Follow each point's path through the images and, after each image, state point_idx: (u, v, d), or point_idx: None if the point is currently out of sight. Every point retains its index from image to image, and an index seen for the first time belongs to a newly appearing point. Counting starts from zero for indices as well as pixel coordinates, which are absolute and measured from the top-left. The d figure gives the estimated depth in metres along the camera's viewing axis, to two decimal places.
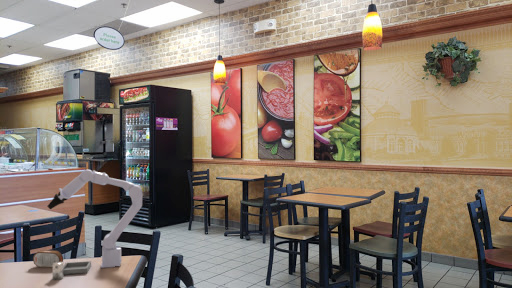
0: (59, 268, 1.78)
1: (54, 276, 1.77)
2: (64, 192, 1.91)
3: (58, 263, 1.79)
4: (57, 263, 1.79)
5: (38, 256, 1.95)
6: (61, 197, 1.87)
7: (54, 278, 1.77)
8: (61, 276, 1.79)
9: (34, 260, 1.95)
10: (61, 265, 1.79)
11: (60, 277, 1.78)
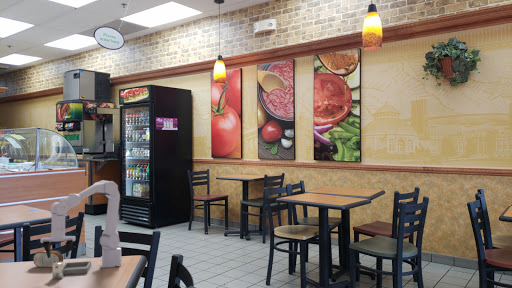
0: (59, 268, 1.78)
1: (54, 276, 1.77)
2: (64, 236, 1.80)
3: (58, 263, 1.79)
4: (57, 263, 1.79)
5: (38, 256, 1.95)
6: (75, 238, 1.82)
7: (54, 278, 1.77)
8: (61, 276, 1.79)
9: (34, 260, 1.95)
10: (61, 265, 1.79)
11: (60, 277, 1.78)
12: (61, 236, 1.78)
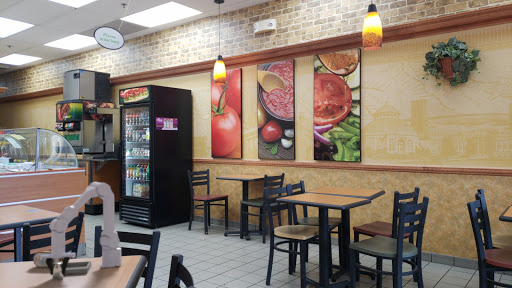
0: (59, 268, 1.78)
1: (54, 276, 1.77)
2: (64, 253, 1.80)
3: (58, 263, 1.79)
4: (57, 263, 1.79)
5: (38, 256, 1.95)
6: None
7: (54, 278, 1.77)
8: (61, 276, 1.79)
9: (34, 260, 1.95)
10: (61, 265, 1.79)
11: (60, 277, 1.78)
12: (61, 253, 1.78)
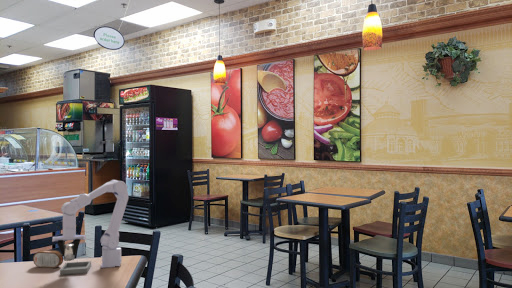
0: (70, 249, 1.84)
1: (65, 257, 1.84)
2: (75, 235, 1.86)
3: (69, 245, 1.86)
4: (68, 245, 1.86)
5: (38, 256, 1.95)
6: (85, 237, 1.88)
7: (65, 259, 1.84)
8: (72, 257, 1.85)
9: (34, 260, 1.95)
10: (72, 247, 1.85)
11: (71, 258, 1.85)
12: (72, 235, 1.85)
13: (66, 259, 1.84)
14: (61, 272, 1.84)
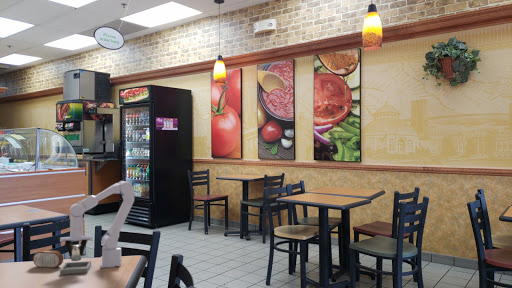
0: (77, 250, 1.89)
1: (73, 257, 1.89)
2: (82, 235, 1.91)
3: (76, 245, 1.90)
4: (75, 245, 1.91)
5: (38, 256, 1.95)
6: None
7: (72, 259, 1.89)
8: (79, 257, 1.90)
9: (34, 260, 1.95)
10: (79, 247, 1.90)
11: (78, 258, 1.89)
12: (79, 236, 1.89)
13: (73, 259, 1.89)
14: (61, 272, 1.84)
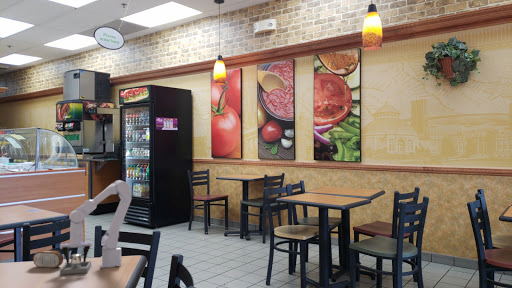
0: (77, 259, 1.89)
1: (73, 267, 1.89)
2: (82, 242, 1.91)
3: (76, 255, 1.91)
4: (75, 255, 1.91)
5: (38, 256, 1.95)
6: None
7: (72, 268, 1.89)
8: (79, 267, 1.90)
9: (34, 260, 1.95)
10: (79, 257, 1.90)
11: None
12: (79, 242, 1.89)
13: None
14: (61, 272, 1.84)
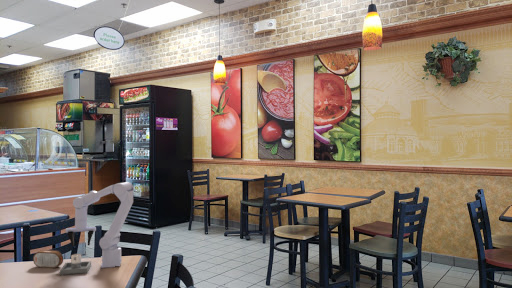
0: (77, 259, 1.89)
1: (73, 267, 1.89)
2: (86, 226, 2.02)
3: (76, 255, 1.90)
4: (75, 255, 1.90)
5: (38, 256, 1.95)
6: (95, 229, 2.04)
7: None
8: (79, 267, 1.90)
9: (34, 260, 1.95)
10: (79, 257, 1.90)
11: None
12: (84, 227, 2.01)
13: None
14: (61, 272, 1.84)
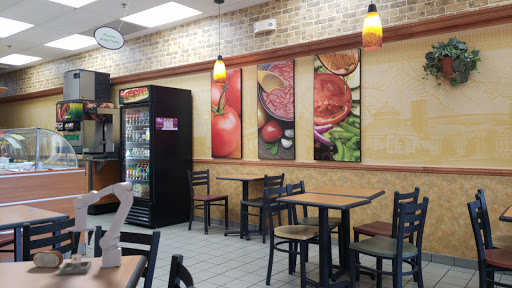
0: (77, 259, 1.89)
1: (73, 267, 1.89)
2: (86, 226, 2.02)
3: (76, 255, 1.91)
4: (76, 255, 1.91)
5: (38, 256, 1.95)
6: (95, 229, 2.04)
7: (72, 268, 1.89)
8: (79, 267, 1.90)
9: (34, 260, 1.95)
10: (79, 257, 1.90)
11: None
12: (84, 227, 2.01)
13: None
14: (61, 272, 1.84)
